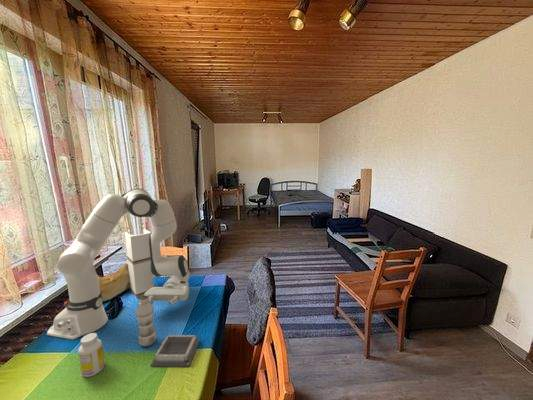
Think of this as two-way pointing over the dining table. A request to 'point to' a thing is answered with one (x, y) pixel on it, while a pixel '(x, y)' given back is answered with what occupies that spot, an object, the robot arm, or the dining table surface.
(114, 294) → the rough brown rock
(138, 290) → the beige notched post
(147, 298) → the silver bottle
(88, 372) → the supplement bottle
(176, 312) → the dining table surface
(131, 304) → the dining table surface
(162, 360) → the grey square tray
